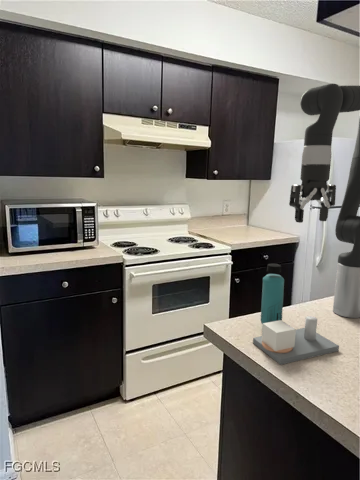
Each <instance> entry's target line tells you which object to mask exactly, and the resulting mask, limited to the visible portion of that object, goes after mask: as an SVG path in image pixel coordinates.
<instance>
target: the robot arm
mask: <svg viewBox="0 0 360 480" xmlns="http://www.w3.org/2000/svg"><path fill="white" fill-rule="evenodd" d="M299 101H300V107H301V110H302V113H304V114H306V115H308V116H317V115H318V118H317V120H316V121H315V122H313V123H310V124H309V125H307V126H306V127H305V131H304V137H303V138H304V139H303V149H302V154H301V167H300V178H299V179H300V180H301V185H300V184H292V185H291V187H290V195H289V203H288V204H289V207H292V208H294V209H295V212H294V220H295V223H299V224H301V223H303V222H304V216H305V215H304V213H305V209H304V208H305V206H306V205H308V203H309V202H310V201H316V202H317V203H318V204H319V206H320V208H319V216H318V220H319V221H320V222H326V221H328V217H329V209H330V207H332V206H333V207H334V206H335V205H336V192H337V191H336V190H337V185H336V184H328V182H329V181H330V177H331V175H330V174H331V167H332V165H331V164H332V141H333V132H334V128H335V126H336V123H337V120H338V117H339V114H340V113H350V112H351V113H352V112H356V111H357V112H358V111H360V85H339V84H337V83H327V84H324V85H318V86H315V87H312V88H309V89H307V90H305V92H303V94H302V96H301V98H300V100H299ZM348 174H349V175H348V180H347V184H346V188H345V192H344V196H343V200H342V204H341V207H340V210H339V213H338V216H337V221H336V224H335V230H334V231H335V232H334V233H335V237H336V239H337V240H338V241H339V242H343V243H347V244H351V245H352V249H351V251H348V252H347V251H346V252H342V253H340V254H338V256H337V266H336V275H335V276H336V277H335V285H334V295H333V305H332V312H333V313H335V314H336V315H338V316H341V317H345V318H349V319H351V318H352V319H359V318H360V215H358V211H359V207H360V117H359V119H358V128H357V135H356V140H355V145H354V150H353V154H352V159H351V162H350V168H349V173H348Z"/></svg>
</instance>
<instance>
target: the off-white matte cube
mask: <svg viewBox="0 0 360 480" xmlns="http://www.w3.org/2000/svg"><path fill="white" fill-rule="evenodd" d="M261 325H262V328H261V329H262V330H261V336H262V341H263V342H264V343H265V344H267V345H268V346H269V347H271V348H272V349H273V350H274V351H278V350H283V349H288V348H293V347H294V346H295V334H296V328H295V327H293V326H291V324H288V323H287V322H285V321H283V319H282V320H279V321H273V322H267V323H263V324H261Z"/></svg>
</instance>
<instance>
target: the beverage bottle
mask: <svg viewBox="0 0 360 480" xmlns="http://www.w3.org/2000/svg"><path fill="white" fill-rule="evenodd" d="M266 272H267V274H266V275H265V276H263V277H262V289H261V290H262V292H261V307H260V322H261V325H263V323H267V322H273V321H279V320H282V321H283V317H284V315H283V314H284V313H283V308H284V296H285V295H284V289H285V287H284V286H285V279H284V277H283V276H282V275H280V274H281V273H282V265H281V264H278V263H268V264H267V268H266Z"/></svg>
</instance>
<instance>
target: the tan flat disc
mask: <svg viewBox="0 0 360 480" xmlns="http://www.w3.org/2000/svg"><path fill="white" fill-rule="evenodd" d="M262 346H263V347H264V348H265V349H267V350H269V351H271V352H275V353H288V352H290V351H292V350H293V348H288V349H283V350H278V351H274V350H273V349H272V348H271V347H269V346H268V345H267V344H265V343H264V342H263V341H262Z"/></svg>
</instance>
